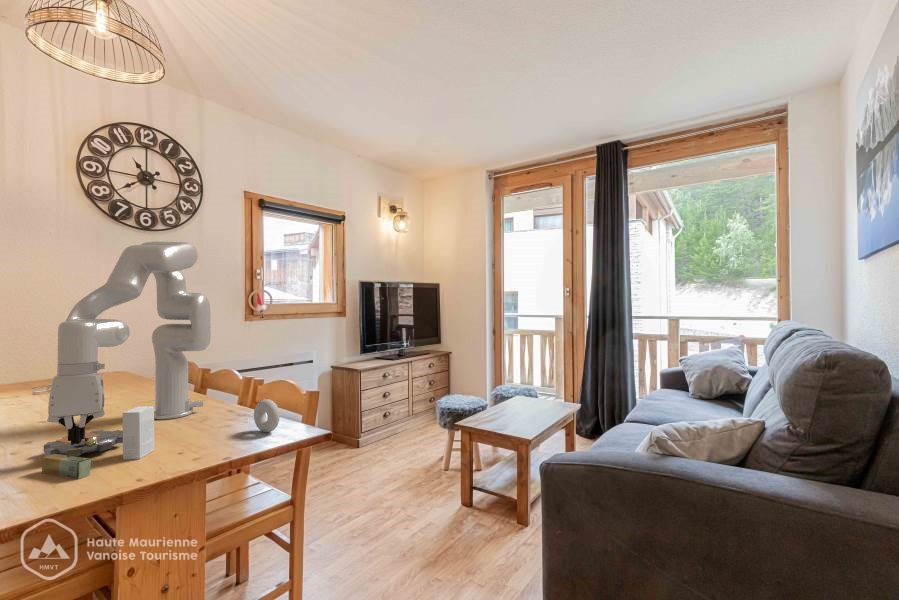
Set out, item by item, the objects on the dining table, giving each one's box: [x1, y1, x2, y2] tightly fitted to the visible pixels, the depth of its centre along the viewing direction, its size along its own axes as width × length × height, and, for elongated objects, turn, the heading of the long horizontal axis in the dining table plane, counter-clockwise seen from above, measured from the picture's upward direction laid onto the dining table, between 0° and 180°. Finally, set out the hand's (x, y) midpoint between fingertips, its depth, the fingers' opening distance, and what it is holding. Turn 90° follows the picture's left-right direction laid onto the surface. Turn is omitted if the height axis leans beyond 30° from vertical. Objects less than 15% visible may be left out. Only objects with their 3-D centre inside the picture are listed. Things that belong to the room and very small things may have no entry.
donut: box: [253, 398, 281, 433], centre depth 126 cm, size 10×4×10 cm, turn 60°
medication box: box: [41, 454, 92, 481], centre depth 95 cm, size 12×3×4 cm, turn 75°
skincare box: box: [122, 405, 155, 461], centre depth 107 cm, size 6×4×12 cm
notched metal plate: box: [43, 429, 123, 457], centre depth 109 cm, size 16×16×4 cm
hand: (76, 442), depth 104 cm, fingers closed
